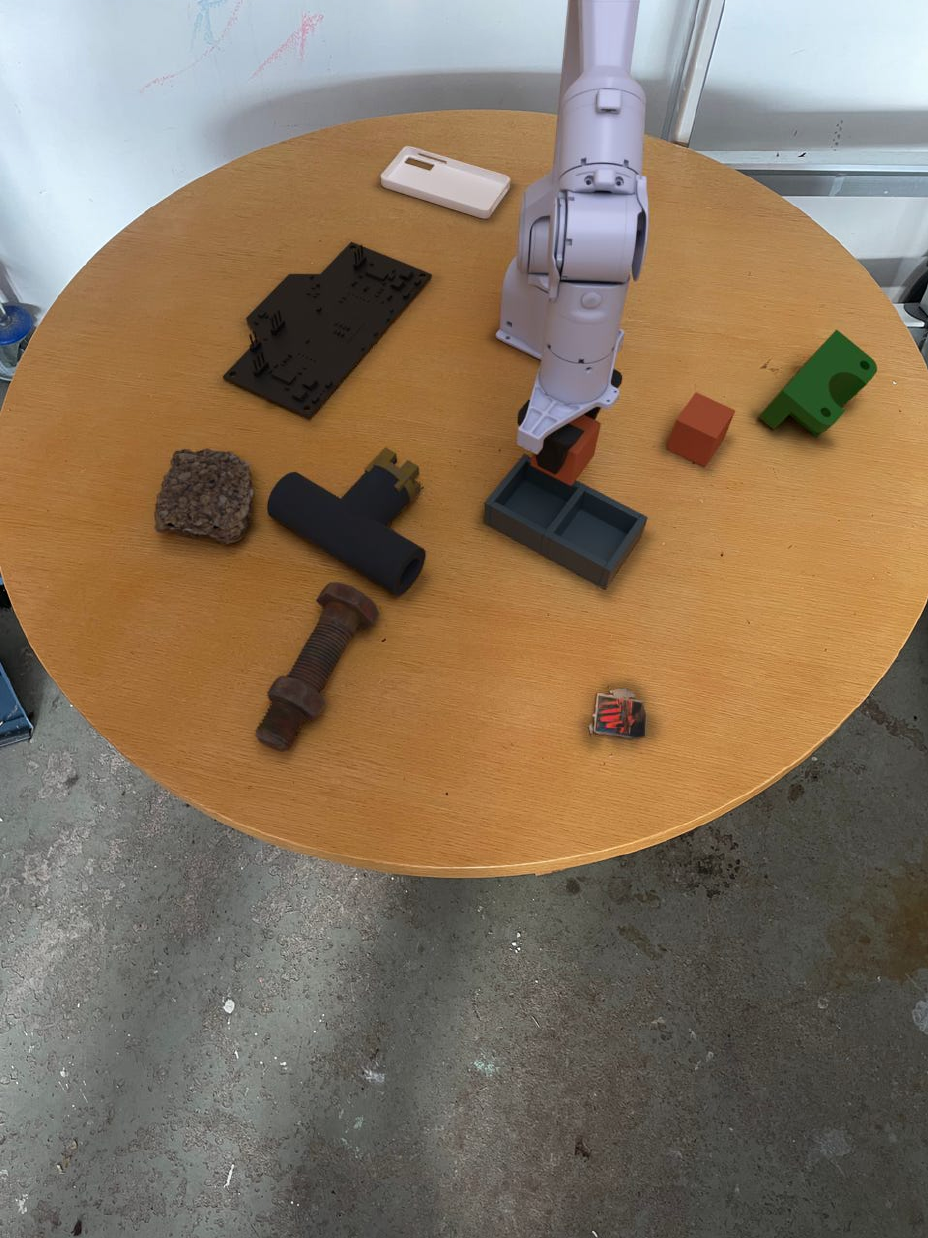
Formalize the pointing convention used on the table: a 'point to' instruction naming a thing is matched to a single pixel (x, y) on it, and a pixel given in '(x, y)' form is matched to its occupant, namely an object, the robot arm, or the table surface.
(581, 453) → the orange cube
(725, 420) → the red cube
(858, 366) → the clamp
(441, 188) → the phone case
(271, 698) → the bolt
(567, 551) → the grey rectangular tray
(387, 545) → the pipe connector
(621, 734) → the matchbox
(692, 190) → the table surface
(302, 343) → the circuit board
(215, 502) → the concrete sample
